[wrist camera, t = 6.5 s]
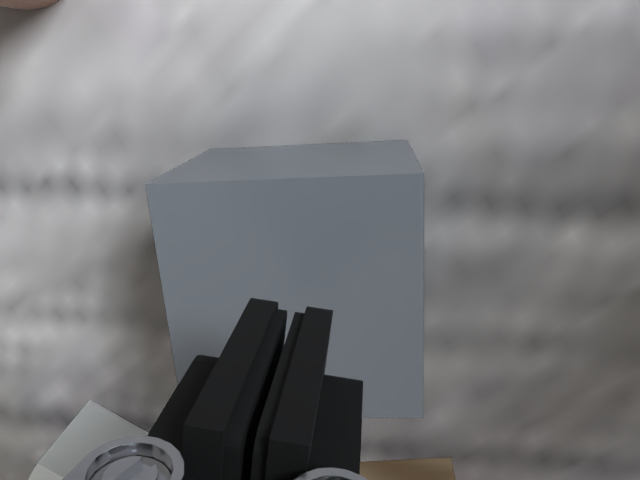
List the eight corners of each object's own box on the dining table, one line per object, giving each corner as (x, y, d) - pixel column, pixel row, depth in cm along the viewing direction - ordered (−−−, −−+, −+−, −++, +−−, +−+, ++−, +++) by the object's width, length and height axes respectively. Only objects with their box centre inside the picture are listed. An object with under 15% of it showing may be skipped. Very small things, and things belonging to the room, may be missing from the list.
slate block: (407, 139, 19) (423, 173, 13) (408, 321, 21) (423, 418, 15) (211, 148, 19) (145, 183, 14) (232, 323, 21) (182, 416, 16)
